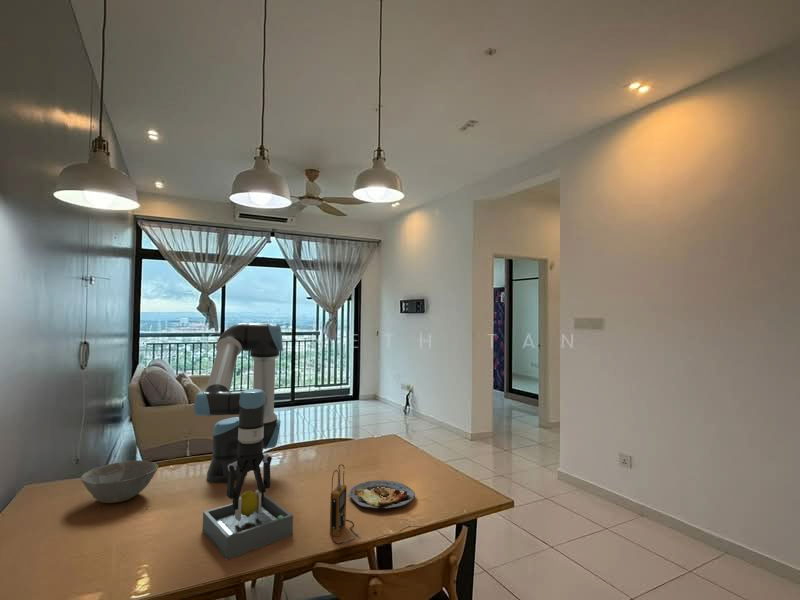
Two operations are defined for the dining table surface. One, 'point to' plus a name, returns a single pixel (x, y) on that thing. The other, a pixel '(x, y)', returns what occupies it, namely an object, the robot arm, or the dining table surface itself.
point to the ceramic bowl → (119, 480)
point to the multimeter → (338, 509)
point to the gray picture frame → (244, 521)
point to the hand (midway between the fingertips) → (247, 515)
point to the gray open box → (249, 537)
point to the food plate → (371, 500)
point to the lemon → (248, 503)
